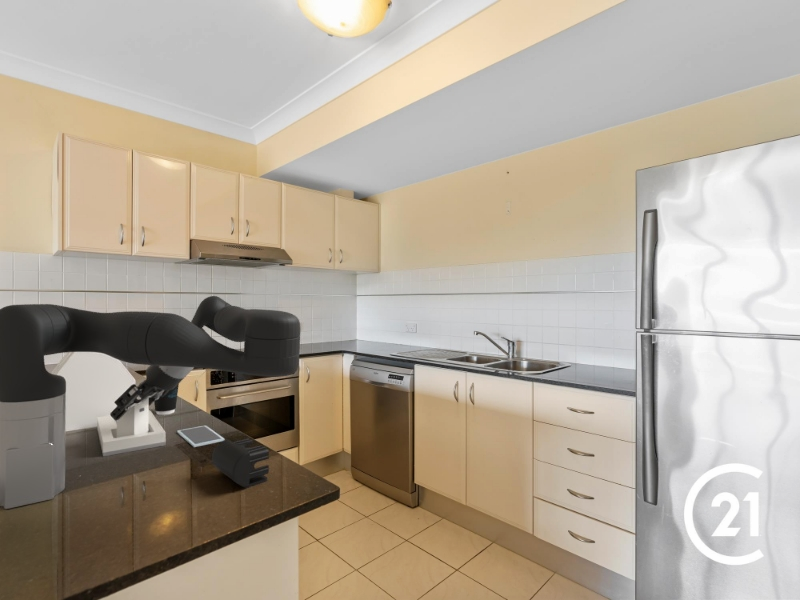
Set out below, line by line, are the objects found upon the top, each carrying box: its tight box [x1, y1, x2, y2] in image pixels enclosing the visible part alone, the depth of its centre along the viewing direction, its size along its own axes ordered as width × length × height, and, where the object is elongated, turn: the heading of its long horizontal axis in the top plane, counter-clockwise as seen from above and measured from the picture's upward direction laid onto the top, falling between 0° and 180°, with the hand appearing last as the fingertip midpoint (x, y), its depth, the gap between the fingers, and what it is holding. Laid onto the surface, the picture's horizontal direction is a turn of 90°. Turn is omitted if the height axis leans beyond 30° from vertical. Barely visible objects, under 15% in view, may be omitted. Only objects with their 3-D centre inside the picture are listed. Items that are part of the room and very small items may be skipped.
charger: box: [117, 397, 150, 438], centre depth 100 cm, size 5×4×10 cm
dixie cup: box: [153, 383, 180, 416], centre depth 126 cm, size 8×8×11 cm
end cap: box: [211, 438, 270, 489], centre depth 81 cm, size 10×7×7 cm
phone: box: [176, 425, 226, 448], centre depth 105 cm, size 14×7×1 cm, turn 42°
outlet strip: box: [96, 410, 167, 457], centre depth 105 cm, size 24×12×3 cm, turn 38°
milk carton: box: [50, 352, 136, 432], centre depth 117 cm, size 19×15×25 cm
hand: (127, 412), depth 100 cm, fingers open, 8 cm apart
